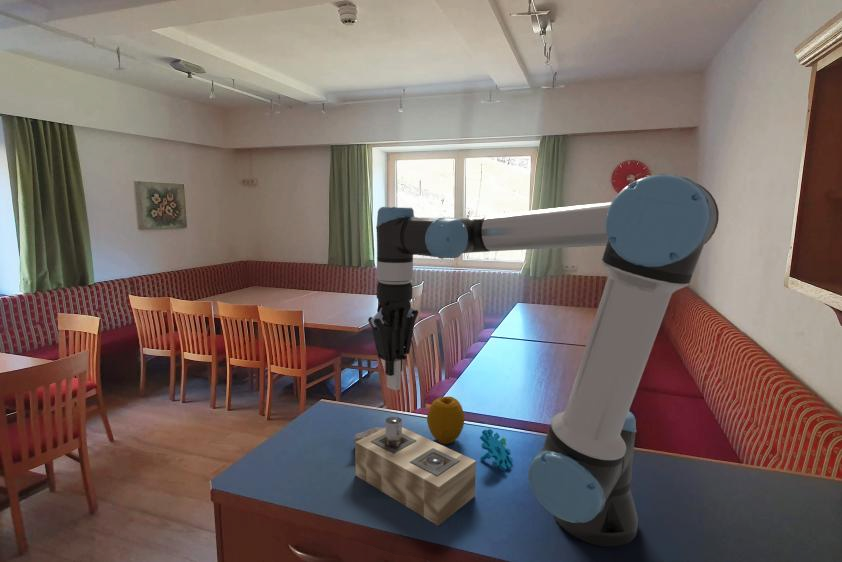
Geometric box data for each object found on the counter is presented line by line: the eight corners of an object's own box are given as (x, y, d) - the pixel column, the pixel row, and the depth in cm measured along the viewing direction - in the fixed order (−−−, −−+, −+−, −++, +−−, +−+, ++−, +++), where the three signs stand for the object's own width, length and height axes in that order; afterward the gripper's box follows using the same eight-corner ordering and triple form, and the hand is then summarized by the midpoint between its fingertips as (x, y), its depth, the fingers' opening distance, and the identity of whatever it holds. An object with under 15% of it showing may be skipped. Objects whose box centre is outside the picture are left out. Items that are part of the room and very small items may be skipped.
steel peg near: (446, 493, 92) (447, 459, 91) (435, 501, 90) (436, 466, 89) (433, 485, 95) (433, 453, 94) (422, 493, 92) (422, 460, 91)
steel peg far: (405, 451, 100) (405, 420, 98) (393, 458, 97) (393, 425, 96) (393, 445, 102) (393, 415, 101) (382, 452, 99) (382, 420, 98)
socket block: (474, 496, 93) (476, 460, 92) (438, 525, 84) (438, 486, 83) (393, 454, 109) (393, 422, 107) (355, 475, 100) (355, 441, 99)
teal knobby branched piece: (504, 474, 98) (478, 434, 102) (485, 486, 100) (460, 446, 104) (521, 457, 108) (496, 421, 111) (503, 469, 110) (479, 433, 113)
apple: (445, 427, 123) (446, 386, 121) (472, 440, 115) (473, 397, 114) (419, 439, 116) (419, 396, 114) (445, 454, 109) (446, 409, 107)
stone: (393, 440, 115) (393, 419, 114) (394, 457, 107) (394, 435, 107) (355, 442, 114) (354, 421, 113) (353, 459, 106) (353, 437, 106)
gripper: (403, 276, 101) (402, 375, 104) (359, 282, 91) (359, 391, 95) (428, 280, 96) (426, 384, 99) (384, 287, 86) (383, 402, 90)
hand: (393, 387), depth 97 cm, fingers closed
